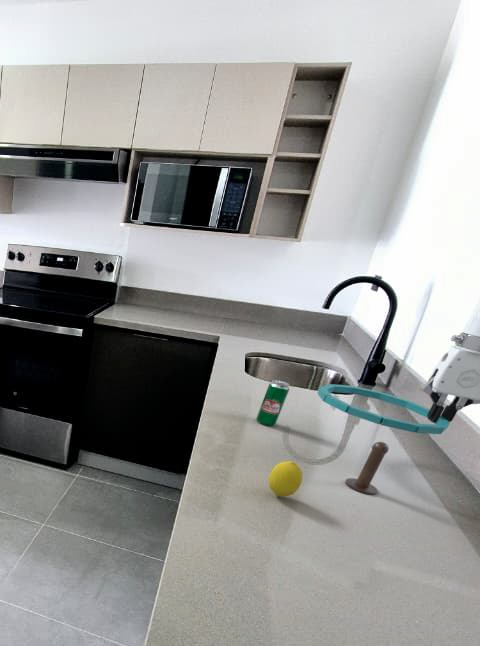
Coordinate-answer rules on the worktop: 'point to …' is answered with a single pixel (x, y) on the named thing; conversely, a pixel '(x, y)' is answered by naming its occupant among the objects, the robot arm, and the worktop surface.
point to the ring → (385, 421)
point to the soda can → (273, 402)
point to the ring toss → (369, 470)
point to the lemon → (285, 479)
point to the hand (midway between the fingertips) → (437, 421)
